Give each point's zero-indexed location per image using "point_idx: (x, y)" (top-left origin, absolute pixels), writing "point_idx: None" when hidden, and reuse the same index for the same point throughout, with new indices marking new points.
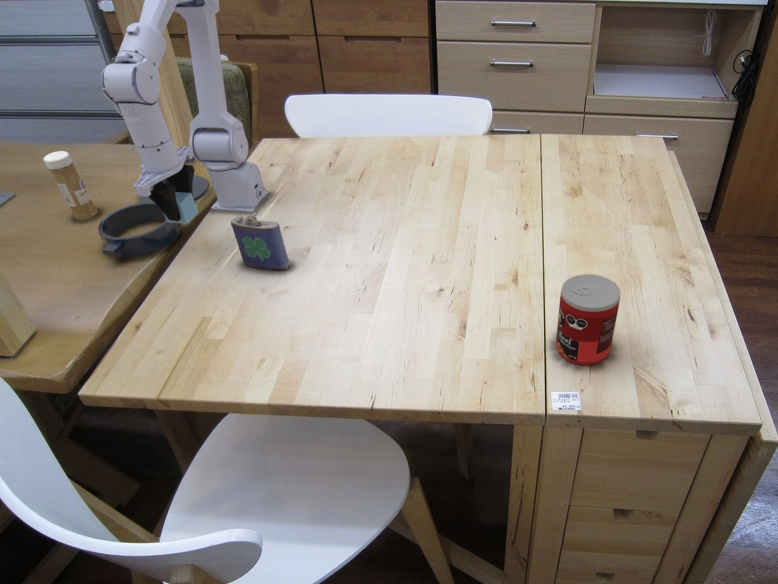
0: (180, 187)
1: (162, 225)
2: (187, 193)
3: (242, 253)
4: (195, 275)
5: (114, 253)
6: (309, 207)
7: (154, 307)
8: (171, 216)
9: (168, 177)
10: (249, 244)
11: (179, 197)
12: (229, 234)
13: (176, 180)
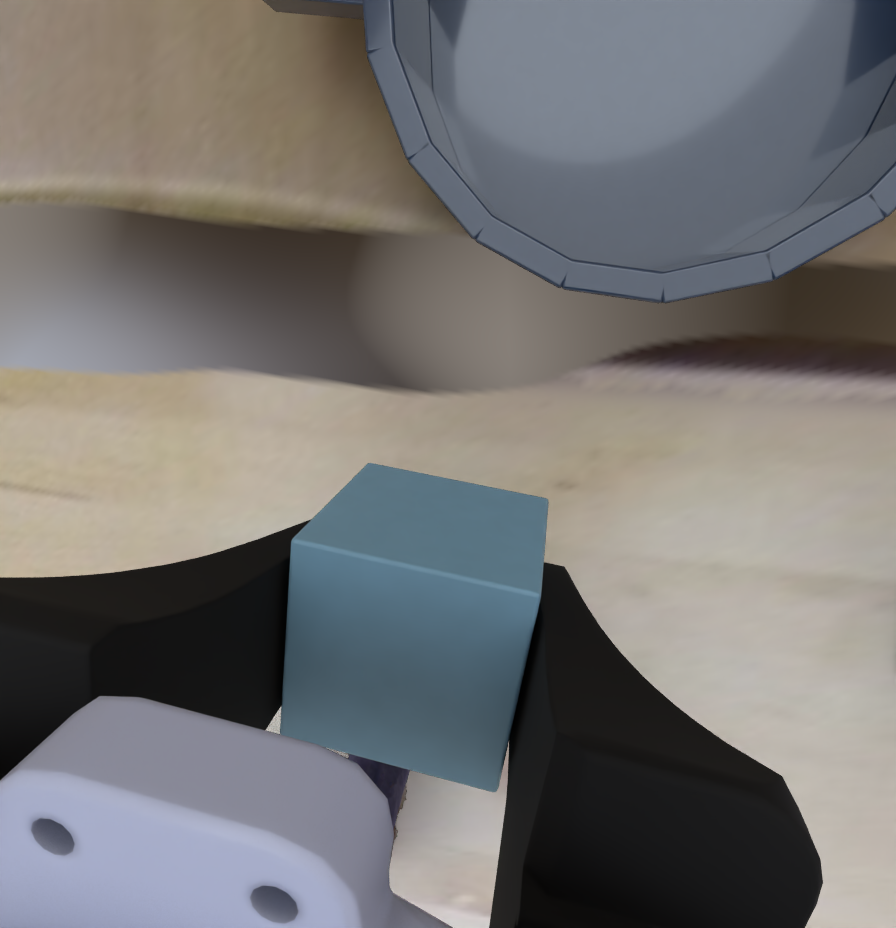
0: (523, 746)
1: (559, 279)
2: (485, 762)
3: (350, 759)
4: (291, 512)
5: (266, 3)
6: (887, 919)
7: (63, 406)
8: None
9: (534, 759)
10: None
11: (401, 709)
12: (657, 585)
13: (517, 812)
